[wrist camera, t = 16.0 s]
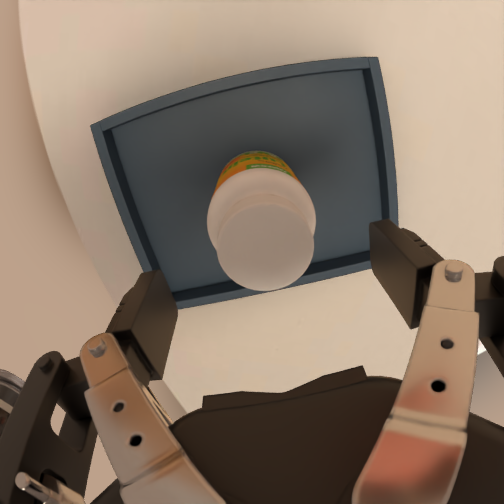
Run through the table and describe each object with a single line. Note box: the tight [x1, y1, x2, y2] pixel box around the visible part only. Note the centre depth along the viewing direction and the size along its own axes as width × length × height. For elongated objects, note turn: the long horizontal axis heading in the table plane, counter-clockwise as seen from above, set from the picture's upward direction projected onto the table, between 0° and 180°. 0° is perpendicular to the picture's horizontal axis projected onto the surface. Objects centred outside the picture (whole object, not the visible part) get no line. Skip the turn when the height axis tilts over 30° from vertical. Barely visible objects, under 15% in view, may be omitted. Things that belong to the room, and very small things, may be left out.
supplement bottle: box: [207, 151, 316, 291], centre depth 16 cm, size 5×5×10 cm
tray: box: [90, 57, 398, 310], centre depth 20 cm, size 20×16×2 cm
